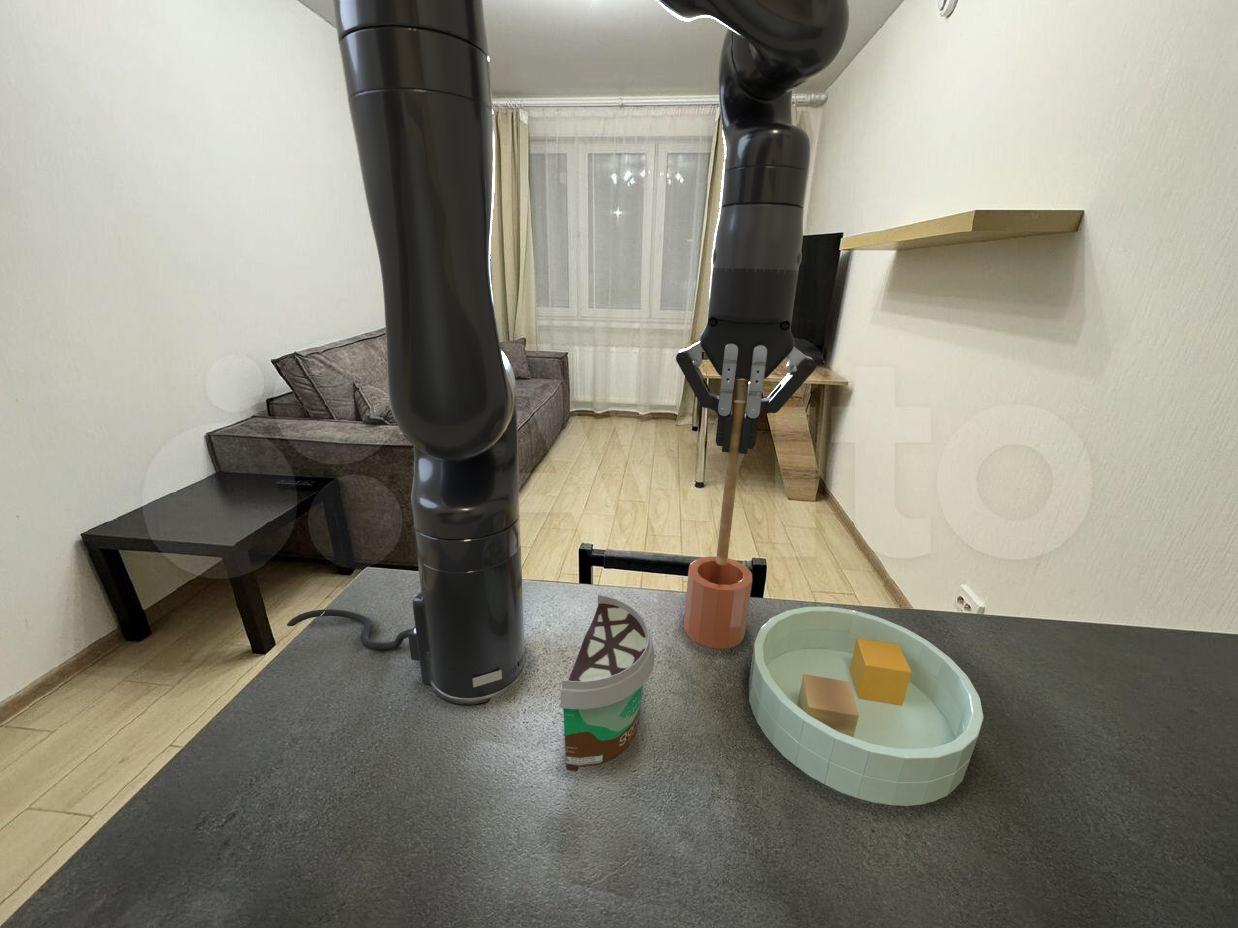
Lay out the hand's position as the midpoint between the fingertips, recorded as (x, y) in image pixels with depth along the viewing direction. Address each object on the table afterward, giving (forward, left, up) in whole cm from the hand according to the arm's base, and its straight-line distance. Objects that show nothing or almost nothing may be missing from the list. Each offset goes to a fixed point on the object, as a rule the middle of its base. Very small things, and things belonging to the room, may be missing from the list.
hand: (733, 450), depth 52 cm
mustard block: (+16, -5, -21) cm, 27 cm away
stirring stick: (0, 0, -13) cm, 13 cm away
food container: (-8, -16, -22) cm, 29 cm away
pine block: (+10, -12, -21) cm, 27 cm away
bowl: (+13, -9, -22) cm, 27 cm away
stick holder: (0, 0, -22) cm, 22 cm away
